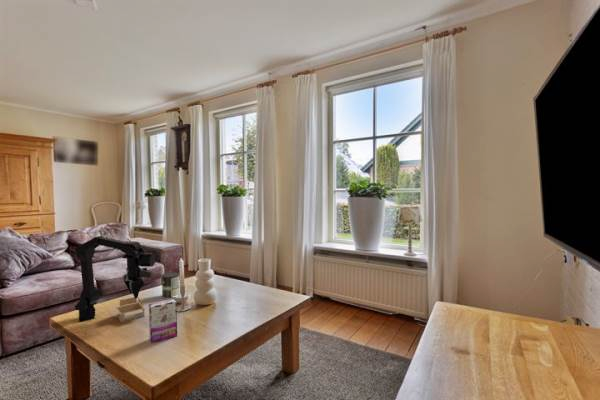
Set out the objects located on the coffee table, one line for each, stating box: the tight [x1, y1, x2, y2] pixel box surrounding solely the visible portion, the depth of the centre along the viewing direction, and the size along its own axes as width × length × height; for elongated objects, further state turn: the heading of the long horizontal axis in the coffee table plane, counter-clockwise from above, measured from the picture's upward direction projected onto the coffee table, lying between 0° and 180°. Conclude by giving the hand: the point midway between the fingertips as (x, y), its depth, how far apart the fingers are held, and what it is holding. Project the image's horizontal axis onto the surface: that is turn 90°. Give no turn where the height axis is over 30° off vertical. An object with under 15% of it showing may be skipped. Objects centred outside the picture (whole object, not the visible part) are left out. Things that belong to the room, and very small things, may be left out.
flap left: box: [119, 296, 137, 307], centre depth 160 cm, size 8×1×4 cm, turn 132°
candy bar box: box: [148, 298, 178, 344], centre depth 133 cm, size 11×5×16 cm, turn 126°
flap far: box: [137, 296, 145, 308], centre depth 159 cm, size 1×8×4 cm, turn 41°
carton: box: [107, 302, 145, 323], centre depth 153 cm, size 15×15×4 cm
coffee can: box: [161, 271, 180, 300], centre depth 185 cm, size 10×10×14 cm
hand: (133, 295), depth 152 cm, fingers open, 9 cm apart
